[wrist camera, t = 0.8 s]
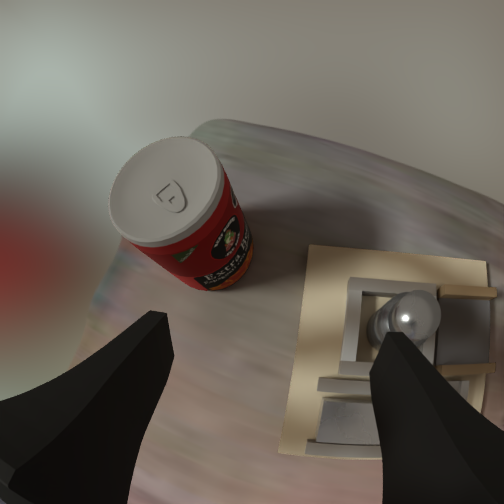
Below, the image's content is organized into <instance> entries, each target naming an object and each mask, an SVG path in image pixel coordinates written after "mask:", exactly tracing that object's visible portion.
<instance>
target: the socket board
mask: <svg viewBox="0 0 504 504" xmlns="http://www.w3.org/2000/svg"><path fill="white" fill-rule="evenodd" d="M414 290H424V291H427V292H429V293H430V294H432V295H433V296H434V297H435V298H436V300H437V301H438V303H439V306H440V309H441V320H440V324H439V326H438V328H437V330H436V331H435V332H434V333H433V334H432V335H431V336H430V337H428V339H427V340H426V341H425V342H424V343H423V344H422V345H420V346H418V347H417V348H418V349H419V350H420V351H421V352H422V353H423V355H424V356H425V357H426V358H427V359H428V360H429V361H430V363H431V364H432V365H433V366H434V367H435V368H436V369H437V370H438V372H439V373H440V374H441V375H442V376H443V377H444V378H445V379H446V380H447V381H448V383H449V384H450V385H451V386H452V387H453V388H454V389H455V390H456V391H457V392H458V393H459V394H460V395H461V396H462V397H463V398H464V399H465V400H466V401H467V402H468V403H469V404H470V405H471V406H473V407H474V408H475V409H476V410H477V411H478V412H479V413H481V407H482V401H483V395H484V387H485V379H486V373H494V372H495V367H496V363H488V362H489V347H490V300H492V299H494V298H496V297H497V291H496V288H495V287H488V283H487V270H486V261H478V260H469V259H459V258H450V257H440V256H430V255H420V254H410V253H399V252H389V251H378V250H367V249H356V248H345V247H334V246H322V245H311V244H309V249H308V259H307V268H306V277H305V286H304V294H303V302H302V310H301V318H300V325H299V332H298V339H297V346H296V353H295V359H294V366H293V372H292V378H291V384H290V390H289V396H288V402H287V407H286V413H285V418H284V423H283V429H282V434H281V439H280V444H279V449H278V453H283V454H291V455H299V456H308V457H319V458H332V459H355V460H382V453H381V447H380V444H341V443H326V442H316V437H315V432H316V427H317V422H318V417H319V412H320V406H321V401H322V397H327V398H340V399H355V400H371V390H370V377H369V372H370V370H371V368H372V365H373V363H374V361H375V359H376V356H377V354H378V352H379V351H377V350H375V349H374V348H373V347H372V346H371V345H370V343H369V341H368V339H367V335H366V328H367V323H368V321H369V319H370V317H371V316H372V315H373V314H374V313H375V312H376V311H377V310H378V309H380V308H381V307H382V306H383V305H384V304H385V303H387V302H388V301H389V300H390V299H391V298H392V297H394V296H395V295H397V294H399V293H402V292H411V291H414Z"/></svg>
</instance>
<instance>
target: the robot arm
mask: <svg viewBox="0 0 504 504" xmlns="http://www.w3.org/2000/svg"><path fill="white" fill-rule="evenodd" d="M173 359H174V351H173V346H172V341H171V335H170V329H169V323H168V317H167V313H163V312H157V311H151V310H150V311H149V312H147V313H146V314H145V315H143V316H142V317H141V318H140V319H138V320H137V321H136V322H135V323H133V324H132V325H131V326H130V327H128V328H127V329H126V330H125V331H123V332H122V333H121V334H119V335H118V336H117V337H116V338H114V339H113V340H112V341H110V342H109V343H108V344H107V345H105V346H104V347H103V348H101V349H100V350H98V351H97V352H95V353H94V354H93V355H91V356H90V357H88V358H87V359H86V360H84V361H83V362H81V363H80V364H78V365H77V366H75V367H74V368H72V369H70V370H69V371H67V372H65V373H63V374H62V375H60V376H58V377H57V378H55V379H53V380H51V381H49V382H47V383H45V384H42V385H40V386H38V387H36V388H34V389H32V390H30V391H27V392H25V393H22V394H20V395H17V396H14V397H11V398H8V399H5V400H2V401H0V504H127V501H128V495H129V490H130V485H131V480H132V476H133V472H134V468H135V463H136V460H137V456H138V453H139V449H140V445H141V442H142V439H143V437H144V434H145V431H146V429H147V426H148V424H149V422H150V420H151V417H152V415H153V413H154V410H155V408H156V406H157V403H158V401H159V399H160V397H161V394H162V392H163V390H164V387H165V385H166V383H167V380H168V377H169V373H170V370H171V366H172V363H173ZM369 377H370V390H371V400H372V405H373V410H374V415H375V420H376V425H377V430H378V436H379V441H380V447H381V453H382V462H383V501H382V504H504V431H502V430H501V429H500V428H498V427H497V426H496V425H494V424H493V423H492V422H490V421H489V420H488V419H487V418H485V417H484V416H483V415H482V414H481V413H479V412H478V411H477V410H476V409H475V408H474V407H473V406H471V405H470V404H469V403H468V402H467V401H466V400H465V399H464V398H463V397H462V396H461V395H460V394H459V393H458V392H457V391H456V390H455V389H454V388H453V387H452V386H451V385H450V384H449V383H448V381H447V380H446V379H445V378H444V377H443V376H442V375H441V374H440V373H439V372H438V370H437V369H436V368H435V367H434V366H433V365H432V364H431V363H430V361H429V360H428V359H427V358H426V357H425V356H424V355H423V353H422V352H421V351H420V350H419V349H418V348H417V347H416V346H415V344H414V343H413V342H412V341H411V340H410V339H409V338H408V337H407V336H406V335H405V334H404V333H403V332H386V335H385V337H384V340H383V342H382V345H381V347H380V349H379V352H378V354H377V356H376V359H375V361H374V363H373V365H372V368H371V370H370V372H369Z"/></svg>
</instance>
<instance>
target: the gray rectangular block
mask: <svg viewBox="0 0 504 504" xmlns="http://www.w3.org/2000/svg"><path fill="white" fill-rule="evenodd" d="M315 437H316V442H326V443H341V444H380V441H379V436H378V430H377V425H376V420H375V415H374V410H373V405H372V400H355V399H340V398H327V397H322V401H321V406H320V412H319V417H318V422H317V427H316V432H315Z"/></svg>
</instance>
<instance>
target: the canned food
mask: <svg viewBox="0 0 504 504" xmlns="http://www.w3.org/2000/svg"><path fill="white" fill-rule="evenodd" d="M108 203H109V205H108V208H109V214H110V218H111V220H112V223H113V225H114V226H115V228H116V229H117V230H118V231H119V232H120V233H121V234H122V236H123V237H124V238H125V239H127V240H128V241H129V242H130V243H132V244H133V245H134V246H135V247H136V248H138V249H139V250H140V251H142V252H143V253H144V254H146V255H147V256H148V257H150V258H151V259H152V260H154V261H155V262H156V263H158V264H159V265H160V266H162V267H163V268H165V269H166V270H167V271H169V272H170V273H171V274H173V275H174V276H176V277H177V278H178V279H180V280H181V281H182V282H184V283H185V284H187V285H189V286H190V287H193V288H195V289H198V290H205V291H209V290H219V289H223V288H226V287H228V286H230V285H232V284H233V283H235V282H236V281H237V280H239V279H240V278H241V277H242V275H243V274H244V273H245V272H246V270H247V268H248V266H249V264H250V261H251V258H252V254H253V239H252V235H251V232H250V229H249V227H248V225H247V222H246V220H245V217H244V215H243V213H242V210H241V208H240V205H239V203H238V201H237V198H236V196H235V193H234V191H233V189H232V186H231V184H230V182H229V179H228V177H227V174H226V173H225V171H224V168H223V166H222V164H221V162H220V160H219V159H218V157H217V156H216V154H215V152H214V151H213V150H212V149H211V148H210V147H209V146H208V145H207V144H205V143H204V142H202V141H200V140H198V139H194V138H191V137H182V136H180V137H170V138H166V139H161V140H159V141H156V142H154V143H151V144H150V145H148V146H146V147H144V148H143V149H141V150H140V151H138V152H137V153H136V154H134V155H133V156H132V157H131V158H130V159H129V160H128V161H127V162H126V163H125V165H124V166H123V167H122V168H121V170H120V171H119V173H118V175H117V176H116V178H115V180H114V182H113V184H112V187H111V190H110V194H109V202H108Z"/></svg>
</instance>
